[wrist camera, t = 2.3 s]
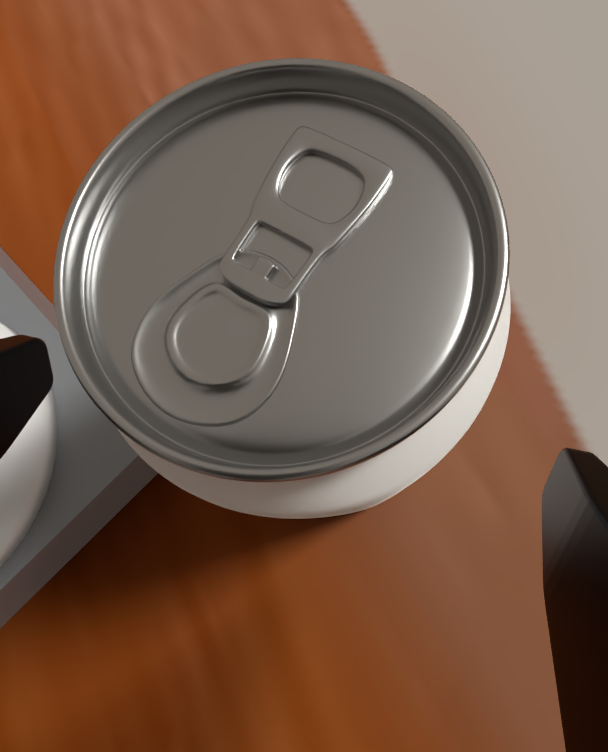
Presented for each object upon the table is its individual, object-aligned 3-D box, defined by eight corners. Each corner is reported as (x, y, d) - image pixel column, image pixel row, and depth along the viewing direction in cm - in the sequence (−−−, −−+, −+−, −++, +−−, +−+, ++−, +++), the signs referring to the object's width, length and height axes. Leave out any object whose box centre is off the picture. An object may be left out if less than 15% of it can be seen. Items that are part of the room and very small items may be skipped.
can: (206, 446, 18) (-80, 335, 7) (306, 296, 19) (209, -31, 8) (366, 554, 17) (356, 657, 5) (467, 385, 18) (652, 148, 6)
